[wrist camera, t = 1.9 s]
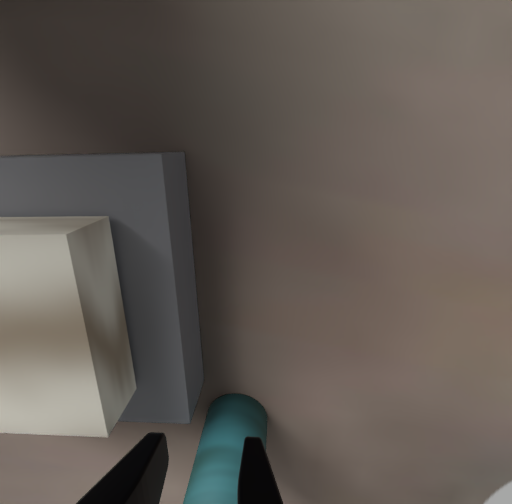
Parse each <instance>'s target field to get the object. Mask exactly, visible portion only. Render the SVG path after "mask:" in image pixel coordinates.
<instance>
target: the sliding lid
mask: <svg viewBox="0 0 512 504" xmlns="http://www.w3.org/2000/svg"><path fill="white" fill-rule="evenodd" d="M136 389H137V387H136V381H135V375H134V369H133V363H132V357H131V350H130V344H129V338H128V332H127V326H126V320H125V314H124V308H123V301H122V295H121V289H120V283H119V277H118V271H117V265H116V259H115V252H114V246H113V240H112V234H111V228H110V222H109V216H64V217H0V433H16V434H40V435H64V436H88V437H109V435H110V433H111V432H112V430H113V428H114V426H115V425H116V423H117V421H118V420H119V418H120V416H121V414H122V413H123V411H124V409H125V408H126V406H127V404H128V402H129V401H130V399H131V397H132V396H133V394H134V392H135V390H136Z"/></svg>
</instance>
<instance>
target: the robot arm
mask: <svg viewBox="0 0 512 504" xmlns="http://www.w3.org/2000/svg"><path fill="white" fill-rule="evenodd" d="M168 461H169V456H168V449H167V441H166V436H165V434H164V433H153V432H151V433H148V434H147V435H146V436H145V437H144V438H143V439H142V440H141V441H140V442H139V443H137V444H136V445H135V446H134V447H133V448H132V449H131V450H130V451H129V452H128V453H127V454H126V455H125V456H124V457H123V458H122V459H121V460H120V461H119V462H118V463H117V464H116V465H115V466H114V467H113V468H112V469H111V470H110V471H109V472H108V473H107V474H106V475H105V476H104V477H103V478H102V479H101V480H100V481H99V482H97V483H96V484H95V485H94V486H93V487H92V488H91V489H90V490H89V491H88V492H87V493H86V494H85V495H84V496H83V497H82V498H81V499H80V500H79V501H78V502H77V503H76V504H159V502H160V498H161V493H162V489H163V485H164V481H165V477H166V472H167V468H168ZM237 504H283V501H282V498H281V495H280V492H279V489H278V486H277V483H276V481H275V478H274V475H273V472H272V469H271V466H270V463H269V460H268V457H267V454H266V451H265V448H264V445H263V442H262V439H261V438H260V437H251V436H247V437H245V439H244V445H243V451H242V458H241V464H240V471H239V477H238V489H237Z"/></svg>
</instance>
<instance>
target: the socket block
mask: <svg viewBox="0 0 512 504" xmlns="http://www.w3.org/2000/svg"><path fill="white" fill-rule="evenodd" d="M64 216H109V222H110V228H111V234H112V240H113V246H114V252H115V259H116V265H117V271H118V277H119V283H120V289H121V295H122V301H123V308H124V314H125V320H126V326H127V332H128V338H129V344H130V350H131V357H132V363H133V369H134V375H135V381H136V387H137V389H136V390H135V392H134V394H133V396H132V397H131V399H130V401H129V402H128V404H127V406H126V408H125V409H124V411H123V413H122V414H121V416H120V418H119V420H118V421H126V422H152V423H178V424H190V423H191V420H192V417H193V413H194V410H195V407H196V404H197V401H198V398H199V395H200V392H201V388H202V385H203V382H204V372H203V361H202V349H201V338H200V326H199V314H198V303H197V291H196V279H195V268H194V256H193V245H192V233H191V221H190V210H189V198H188V186H187V175H186V163H185V152H151V153H107V154H62V155H18V156H0V217H64Z"/></svg>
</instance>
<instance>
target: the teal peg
mask: <svg viewBox="0 0 512 504" xmlns="http://www.w3.org/2000/svg"><path fill="white" fill-rule="evenodd" d="M247 436H251V437H260V438H261V439H262V442H263V445H264V448H265V451H266V436H267V414H266V412H265V409H264V408H263V406H262V405H261V404H260V403H259V402H258V401H256V400H255V399H253V398H252V397H249V396H246V395H243V394H227V395H223V396H221V397H219V398H217V399H216V400H215V401H214V402H213V403H212V404H211V405H210V407H209V409H208V413H207V416H206V420H205V424H204V428H203V431H202V435H201V439H200V442H199V446H198V450H197V454H196V457H195V461H194V465H193V468H192V472H191V476H190V480H189V483H188V487H187V491H186V495H185V498H184V502H183V504H237V489H238V477H239V471H240V464H241V458H242V451H243V445H244V439H245V437H247Z"/></svg>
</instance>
